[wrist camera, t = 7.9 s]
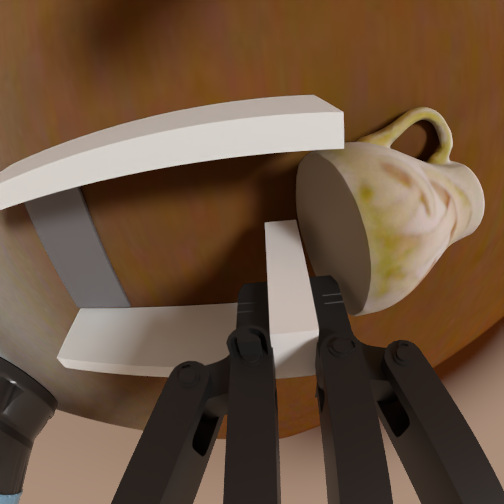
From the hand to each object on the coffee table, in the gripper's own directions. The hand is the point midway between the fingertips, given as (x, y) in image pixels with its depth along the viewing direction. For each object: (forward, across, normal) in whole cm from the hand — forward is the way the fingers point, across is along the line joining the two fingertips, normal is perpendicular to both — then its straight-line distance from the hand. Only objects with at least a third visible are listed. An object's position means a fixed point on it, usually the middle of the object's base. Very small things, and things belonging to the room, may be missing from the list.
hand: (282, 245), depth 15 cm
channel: (+2, -7, 0) cm, 7 cm away
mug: (+2, +6, +2) cm, 7 cm away
